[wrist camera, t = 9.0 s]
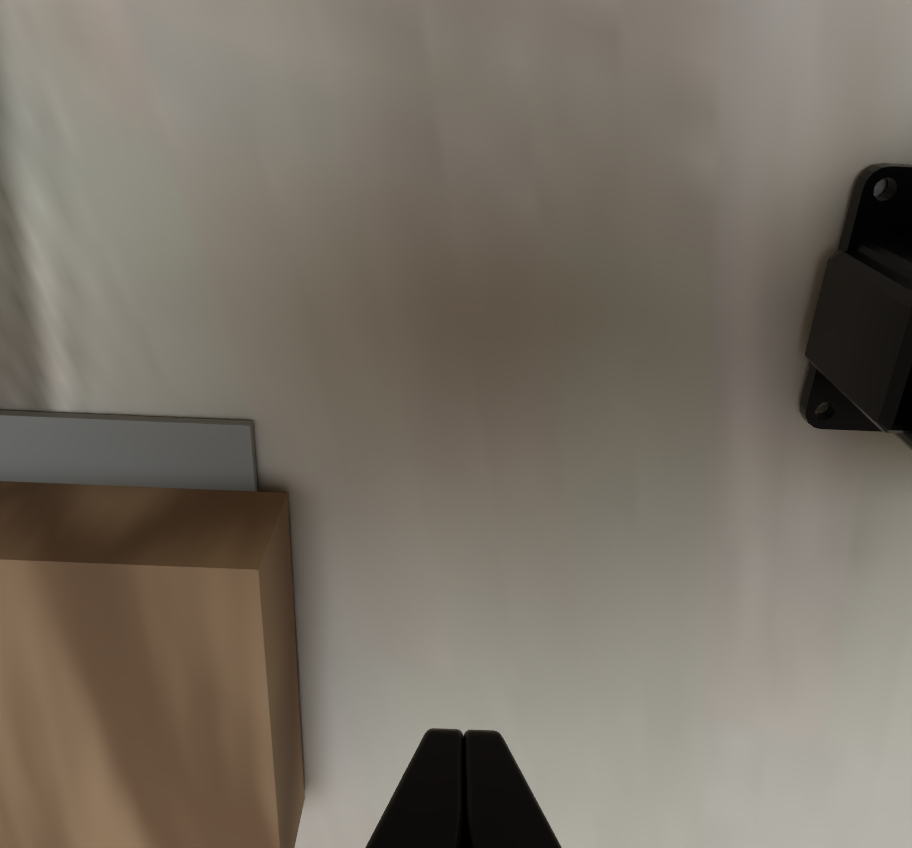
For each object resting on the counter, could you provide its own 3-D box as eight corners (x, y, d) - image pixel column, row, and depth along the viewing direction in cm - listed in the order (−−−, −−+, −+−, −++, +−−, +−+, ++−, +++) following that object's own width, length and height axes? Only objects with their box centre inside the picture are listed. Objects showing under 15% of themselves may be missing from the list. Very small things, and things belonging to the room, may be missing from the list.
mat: (253, 420, 21) (250, 425, 21) (283, 829, 28) (281, 837, 28) (-166, 403, 21) (-174, 407, 21) (-31, 818, 28) (-36, 825, 28)
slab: (258, 569, 19) (-130, 554, 19) (283, 898, 24) (-19, 887, 24) (287, 492, 22) (-45, 479, 22) (304, 797, 27) (37, 788, 27)
